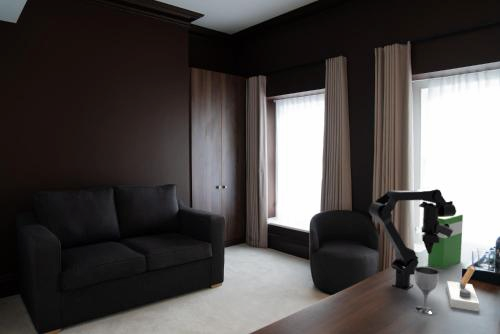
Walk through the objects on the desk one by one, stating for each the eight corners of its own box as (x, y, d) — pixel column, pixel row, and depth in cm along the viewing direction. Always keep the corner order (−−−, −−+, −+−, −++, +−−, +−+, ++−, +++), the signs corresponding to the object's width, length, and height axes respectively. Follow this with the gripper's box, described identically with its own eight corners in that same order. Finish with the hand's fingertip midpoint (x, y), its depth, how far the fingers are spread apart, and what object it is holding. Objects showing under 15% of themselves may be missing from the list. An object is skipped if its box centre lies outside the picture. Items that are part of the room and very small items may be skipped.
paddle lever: (459, 287, 148) (471, 268, 146) (458, 283, 152) (469, 264, 150) (464, 289, 147) (475, 270, 145) (462, 285, 151) (473, 267, 149)
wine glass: (427, 317, 131) (429, 275, 129) (408, 308, 138) (409, 268, 136) (442, 312, 134) (443, 272, 133) (422, 303, 141) (424, 265, 140)
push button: (460, 296, 140) (460, 292, 140) (459, 292, 144) (459, 289, 144) (471, 298, 139) (471, 294, 139) (469, 294, 142) (470, 290, 142)
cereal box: (445, 257, 195) (447, 212, 193) (460, 261, 189) (462, 214, 187) (427, 264, 185) (429, 216, 183) (442, 269, 179) (445, 219, 177)
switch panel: (450, 306, 139) (451, 299, 139) (446, 287, 156) (447, 280, 156) (479, 311, 135) (479, 303, 135) (471, 291, 153) (471, 284, 153)
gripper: (454, 224, 147) (452, 262, 149) (450, 214, 164) (448, 249, 166) (423, 221, 152) (421, 259, 153) (422, 212, 169) (420, 246, 170)
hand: (429, 253), depth 160 cm, fingers closed
